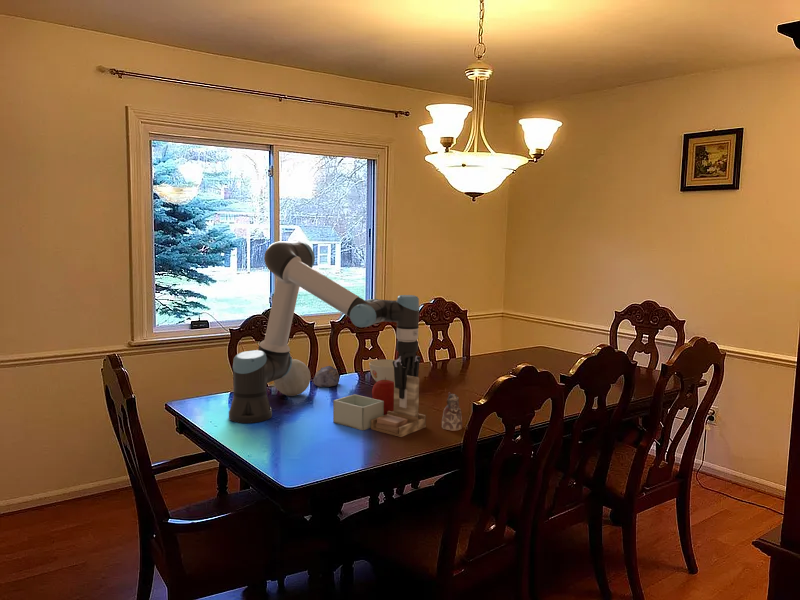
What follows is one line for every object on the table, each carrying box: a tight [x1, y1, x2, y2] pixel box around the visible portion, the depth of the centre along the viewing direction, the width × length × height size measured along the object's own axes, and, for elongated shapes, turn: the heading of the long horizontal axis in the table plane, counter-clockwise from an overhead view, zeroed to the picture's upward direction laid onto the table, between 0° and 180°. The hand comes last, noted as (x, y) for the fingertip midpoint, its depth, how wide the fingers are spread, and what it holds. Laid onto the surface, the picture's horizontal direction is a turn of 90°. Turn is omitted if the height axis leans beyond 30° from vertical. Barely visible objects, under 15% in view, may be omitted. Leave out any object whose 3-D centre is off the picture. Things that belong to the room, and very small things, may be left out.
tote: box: [332, 393, 384, 431], centre depth 219 cm, size 11×14×8 cm
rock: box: [312, 365, 340, 388], centre depth 273 cm, size 11×10×10 cm
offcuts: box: [376, 414, 409, 433], centre depth 212 cm, size 7×10×3 cm
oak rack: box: [370, 411, 427, 438], centre depth 214 cm, size 14×13×4 cm
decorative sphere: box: [273, 358, 311, 397], centre depth 255 cm, size 15×15×15 cm
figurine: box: [441, 391, 463, 432], centre depth 215 cm, size 7×7×12 cm
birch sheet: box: [393, 375, 420, 418], centre depth 217 cm, size 2×9×16 cm, turn 52°
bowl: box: [368, 358, 397, 383], centre depth 274 cm, size 16×16×10 cm
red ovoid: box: [371, 377, 394, 415], centre depth 231 cm, size 10×10×14 cm
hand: (405, 406), depth 217 cm, fingers closed on birch sheet, 2 cm apart
